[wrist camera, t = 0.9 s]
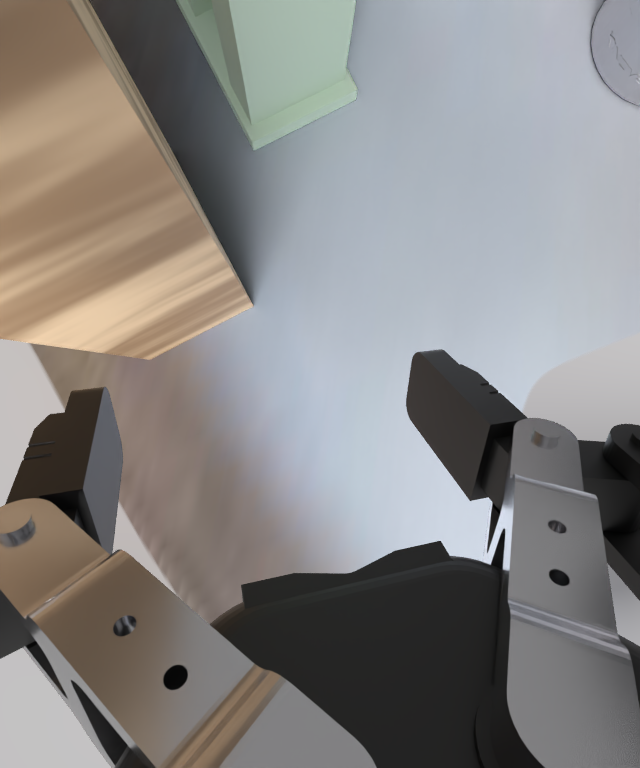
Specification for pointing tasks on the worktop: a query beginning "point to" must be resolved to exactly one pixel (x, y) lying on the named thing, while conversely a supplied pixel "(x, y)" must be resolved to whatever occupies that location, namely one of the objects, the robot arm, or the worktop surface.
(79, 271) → the wooden block
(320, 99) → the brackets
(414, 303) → the worktop surface
